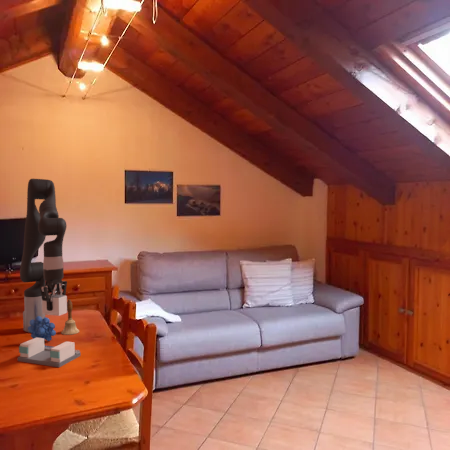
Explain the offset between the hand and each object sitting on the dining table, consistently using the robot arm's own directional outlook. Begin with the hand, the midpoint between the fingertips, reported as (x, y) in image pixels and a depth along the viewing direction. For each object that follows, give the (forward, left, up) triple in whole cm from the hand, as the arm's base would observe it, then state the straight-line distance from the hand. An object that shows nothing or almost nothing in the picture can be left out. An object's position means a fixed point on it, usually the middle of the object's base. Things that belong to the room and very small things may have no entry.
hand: (54, 308), depth 179 cm
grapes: (-17, +12, -20) cm, 29 cm away
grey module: (0, 0, -2) cm, 2 cm away
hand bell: (-15, +29, -20) cm, 38 cm away
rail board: (-1, -2, -20) cm, 20 cm away
